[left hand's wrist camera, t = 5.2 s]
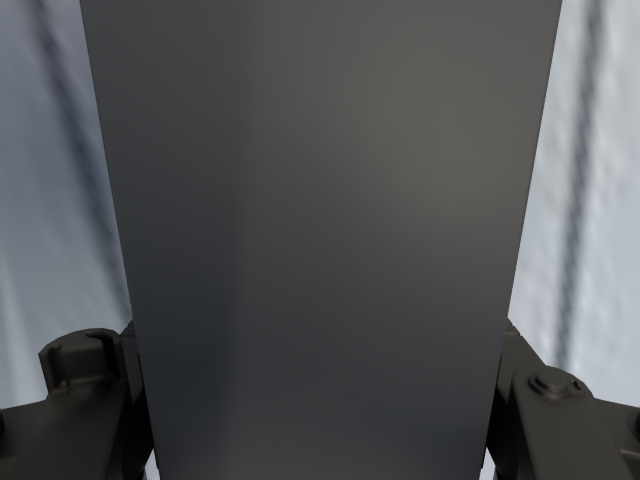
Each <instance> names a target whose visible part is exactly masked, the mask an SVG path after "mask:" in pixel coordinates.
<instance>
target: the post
mask: <svg viewBox="0 0 640 480" xmlns="http://www.w3.org/2000/svg"><path fill="white" fill-rule="evenodd" d="M79 1H80V7H81V12H82V18H83V24H84V30H85V36H86V42H87V48H88V54H89V60H90V66H91V72H92V78H93V84H94V90H95V96H96V101H97V107H98V113H99V119H100V125H101V131H102V137H103V143H104V149H105V155H106V161H107V167H108V173H109V179H110V184H111V190H112V196H113V202H114V208H115V214H116V220H117V226H118V232H119V238H120V244H121V250H122V256H123V262H124V267H125V273H126V279H127V285H128V291H129V297H130V303H131V309H132V315H133V321H134V327H135V333H136V339H137V345H138V351H139V356H140V362H141V368H142V374H143V380H144V386H145V392H146V398H147V404H148V410H149V416H150V422H151V428H152V434H153V439H154V445H155V451H156V457H157V463H158V469H159V475H160V480H479V477H480V471H481V466H482V460H483V454H484V448H485V443H486V437H487V431H488V425H489V420H490V414H491V408H492V402H493V397H494V391H495V385H496V379H497V374H498V368H499V362H500V356H501V351H502V345H503V339H504V333H505V327H506V322H507V316H508V310H509V304H510V299H511V293H512V287H513V281H514V276H515V270H516V264H517V258H518V253H519V247H520V241H521V235H522V230H523V224H524V218H525V212H526V207H527V201H528V195H529V189H530V183H531V178H532V172H533V166H534V160H535V155H536V149H537V143H538V137H539V132H540V126H541V120H542V114H543V109H544V103H545V97H546V91H547V86H548V80H549V74H550V68H551V63H552V57H553V51H554V45H555V40H556V34H557V28H558V22H559V16H560V11H561V5H562V0H79Z"/></svg>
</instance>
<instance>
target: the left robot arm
mask: <svg viewBox="0 0 640 480" xmlns="http://www.w3.org/2000/svg"><path fill="white" fill-rule="evenodd" d="M38 355H39V359H40V363H41V367H42V370H43V374H44V378H45V382H46V385H47V389H48V395H47V397H46V399H45V400H43V401H39V402H36V403H31V404H26V405H21V406H16V407H12V408H7V409H2V410H1V409H0V480H147V477H146V471H145V465H146V463H147V461H148V459H149V456H150V454H151V452H152V450H153V448H154V454H155V460H156V465H157V469H158V463H157V457H156V451H155V445H154V439H153V434H152V428H151V422H150V416H149V410H148V404H147V398H146V392H145V386H144V380H143V374H142V368H141V362H140V356H139V351H138V345H137V339H136V333H135V327H134V321H133V319H132V320H131V322H130V323H129V324H128V327H126V328H125V329H124V330H123V332H122V333H121V334H120V335H119V334H118V333H116V332H115V331H114V330H109V329H105V328H93V329H85V330H80V331H75V332H72V333H69V334H67V335H64V336H62V337H59V338H57V339H56V340H54V341H52V342H51V343H49V344H47V345H46V346H45V347H44V348H43V349H42V350H41V351H40V352H39V353H38ZM486 446H487V448H488V450H489V453H490V455H491V457H492V459H493V461H494V464H495V471H494V477H493V480H640V408H638V407H633V406H628V405H624V404H619V403H614V402H609V401H604V400H600V399H597V398H594V397H593V395H592V392H591V391H590V390H589V389H588V387H587V386H586V385H585V384H584V383H583V382H582V381H580V380H579V379H578V378H576V377H575V376H573V375H572V374H570V373H567V372H565V371H563V370H561V369H558V368H555V367H551V366H547V365H545V364H544V363H543V361H542V360H541V359H540V358H539V356H538V355H537V354H536V353H535V351H534V350H533V349H532V348H531V346H530V345H529V344H528V343H527V341H526V340H525V339H524V338H523V336H520V333H519V331H518V330H517V329H516V328H515V326H512V323H511V321H510V320H509V319H508V318H507V322H506V327H505V333H504V339H503V345H502V351H501V356H500V362H499V368H498V374H497V379H496V385H495V391H494V397H493V402H492V408H491V414H490V420H489V425H488V431H487V437H486V443H485V448H484V454H483V460H482V466H481V469H483V464H484V458H485V452H486Z"/></svg>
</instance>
